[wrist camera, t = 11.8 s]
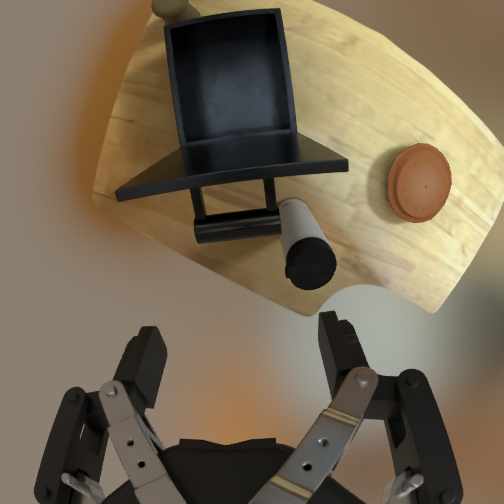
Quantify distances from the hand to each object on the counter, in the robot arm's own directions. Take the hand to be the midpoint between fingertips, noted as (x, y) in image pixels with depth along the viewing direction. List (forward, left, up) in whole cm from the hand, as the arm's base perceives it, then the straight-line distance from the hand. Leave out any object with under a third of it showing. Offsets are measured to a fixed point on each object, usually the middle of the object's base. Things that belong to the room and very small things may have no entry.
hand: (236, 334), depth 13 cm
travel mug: (+9, +7, -38) cm, 40 cm away
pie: (+4, +32, -38) cm, 50 cm away
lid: (-7, 0, -15) cm, 17 cm away
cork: (-29, -7, -38) cm, 49 cm away
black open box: (-15, 0, -38) cm, 41 cm away
